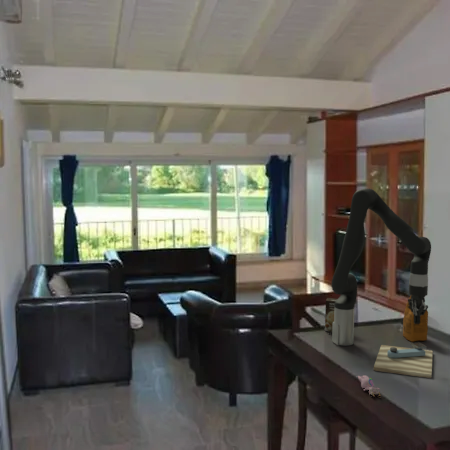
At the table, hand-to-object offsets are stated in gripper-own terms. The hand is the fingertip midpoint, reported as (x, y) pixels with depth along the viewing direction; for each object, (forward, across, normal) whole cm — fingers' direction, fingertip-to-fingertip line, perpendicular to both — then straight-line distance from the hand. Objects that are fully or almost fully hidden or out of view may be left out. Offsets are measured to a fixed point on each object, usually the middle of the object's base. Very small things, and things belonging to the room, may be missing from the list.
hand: (416, 323), depth 233 cm
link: (+15, -3, -3) cm, 15 cm away
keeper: (+15, -5, +4) cm, 17 cm away
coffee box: (+17, -49, -17) cm, 55 cm away
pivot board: (+17, 0, -5) cm, 18 cm away
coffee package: (+17, -29, +16) cm, 38 cm away
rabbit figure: (+17, +25, -34) cm, 46 cm away
